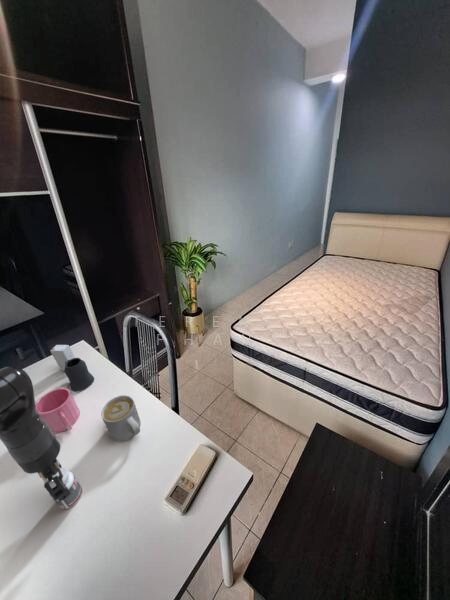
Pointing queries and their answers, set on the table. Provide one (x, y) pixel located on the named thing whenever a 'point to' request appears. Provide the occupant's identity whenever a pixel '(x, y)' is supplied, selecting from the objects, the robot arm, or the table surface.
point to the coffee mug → (121, 418)
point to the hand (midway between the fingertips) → (61, 482)
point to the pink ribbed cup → (58, 409)
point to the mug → (78, 374)
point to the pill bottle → (73, 488)
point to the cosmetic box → (62, 355)
